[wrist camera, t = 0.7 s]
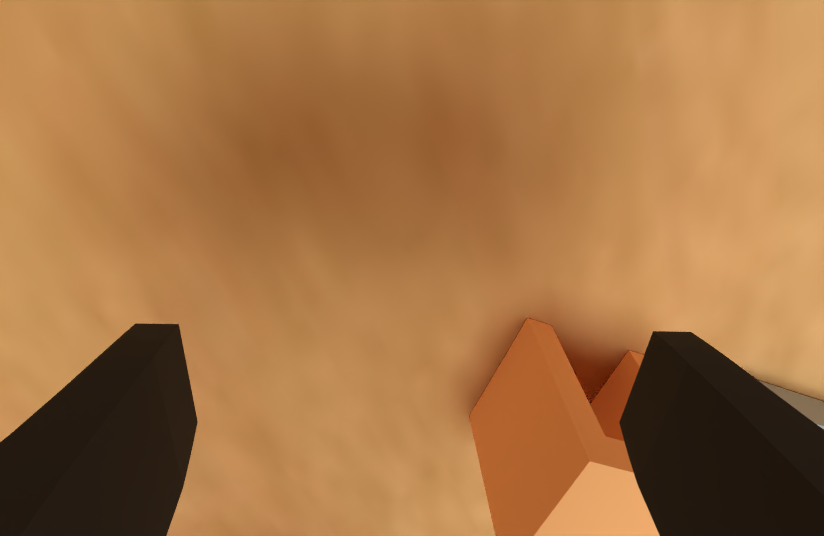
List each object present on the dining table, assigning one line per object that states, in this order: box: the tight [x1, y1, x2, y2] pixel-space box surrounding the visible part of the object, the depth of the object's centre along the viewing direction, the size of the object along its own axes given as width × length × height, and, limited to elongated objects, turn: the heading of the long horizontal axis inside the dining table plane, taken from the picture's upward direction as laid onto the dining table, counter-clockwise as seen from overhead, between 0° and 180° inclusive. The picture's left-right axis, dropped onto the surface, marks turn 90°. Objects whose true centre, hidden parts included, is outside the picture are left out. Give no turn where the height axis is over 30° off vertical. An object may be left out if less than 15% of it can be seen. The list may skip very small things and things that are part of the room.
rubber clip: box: [469, 318, 660, 536], centre depth 20 cm, size 5×5×7 cm
